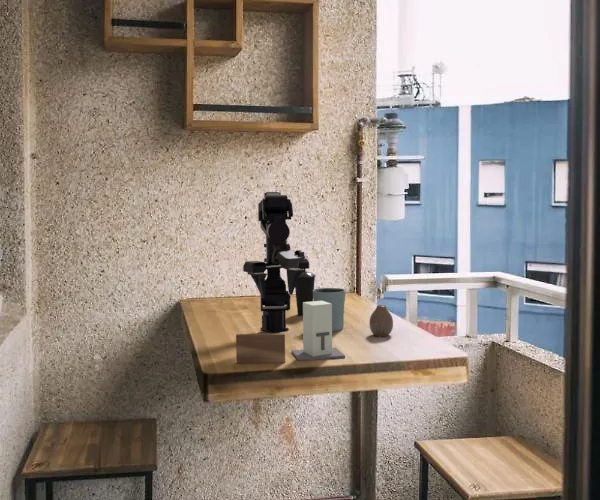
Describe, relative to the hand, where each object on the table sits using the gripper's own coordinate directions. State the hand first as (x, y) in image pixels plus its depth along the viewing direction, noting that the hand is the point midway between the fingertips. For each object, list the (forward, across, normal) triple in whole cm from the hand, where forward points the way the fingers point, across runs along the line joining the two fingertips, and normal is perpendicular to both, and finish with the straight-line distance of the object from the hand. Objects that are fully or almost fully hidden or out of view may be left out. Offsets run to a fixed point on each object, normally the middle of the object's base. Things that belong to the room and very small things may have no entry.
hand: (277, 296), depth 188 cm
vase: (+13, +29, -11) cm, 34 cm away
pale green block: (+12, 0, -19) cm, 23 cm away
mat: (+13, 0, -19) cm, 23 cm away
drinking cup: (+13, +30, +29) cm, 44 cm away
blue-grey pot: (+13, +23, +6) cm, 27 cm away
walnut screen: (+13, -16, -16) cm, 26 cm away
